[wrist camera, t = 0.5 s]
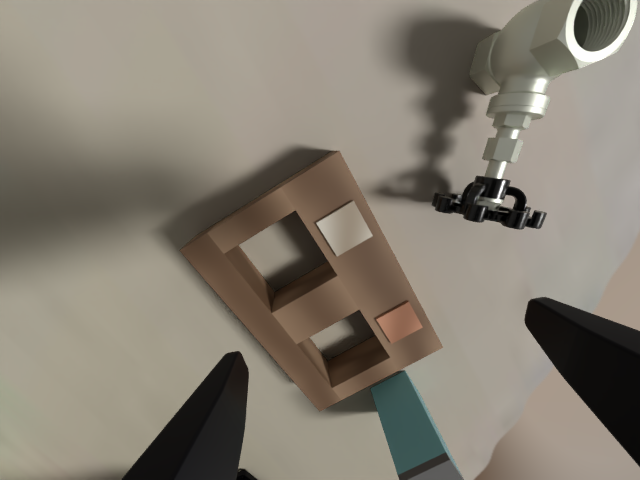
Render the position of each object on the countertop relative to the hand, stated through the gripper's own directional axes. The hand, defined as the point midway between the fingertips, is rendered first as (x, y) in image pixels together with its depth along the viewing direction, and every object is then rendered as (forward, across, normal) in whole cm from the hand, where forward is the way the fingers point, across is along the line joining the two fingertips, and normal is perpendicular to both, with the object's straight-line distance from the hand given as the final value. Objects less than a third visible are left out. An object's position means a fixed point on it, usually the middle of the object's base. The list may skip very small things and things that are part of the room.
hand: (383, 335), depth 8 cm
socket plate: (+12, +2, +6) cm, 14 cm away
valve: (+14, -11, -4) cm, 19 cm away
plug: (+11, -3, +21) cm, 24 cm away
